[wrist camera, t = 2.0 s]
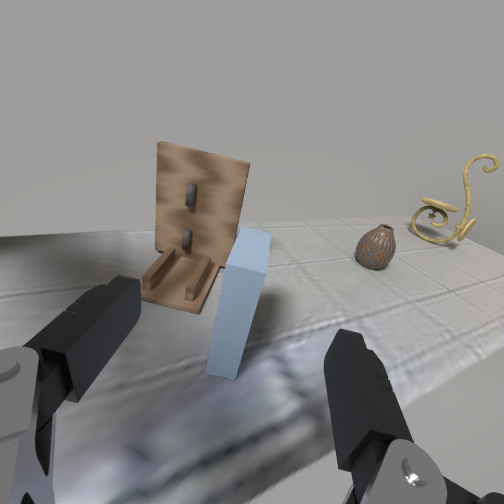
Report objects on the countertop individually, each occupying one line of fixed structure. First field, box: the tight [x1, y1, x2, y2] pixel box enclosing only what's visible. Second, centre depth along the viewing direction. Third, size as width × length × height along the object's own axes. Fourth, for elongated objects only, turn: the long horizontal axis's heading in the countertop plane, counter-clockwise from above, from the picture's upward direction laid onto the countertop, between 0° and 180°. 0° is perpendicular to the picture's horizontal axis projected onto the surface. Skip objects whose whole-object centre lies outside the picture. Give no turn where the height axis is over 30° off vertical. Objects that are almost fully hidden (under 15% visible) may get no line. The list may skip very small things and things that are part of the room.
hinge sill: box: [139, 141, 250, 314], centre depth 32 cm, size 12×12×17 cm
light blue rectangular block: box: [205, 226, 271, 381], centre depth 24 cm, size 3×7×13 cm, turn 173°
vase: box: [356, 224, 396, 270], centre depth 51 cm, size 7×7×9 cm
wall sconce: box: [412, 154, 499, 243], centre depth 68 cm, size 14×10×25 cm
